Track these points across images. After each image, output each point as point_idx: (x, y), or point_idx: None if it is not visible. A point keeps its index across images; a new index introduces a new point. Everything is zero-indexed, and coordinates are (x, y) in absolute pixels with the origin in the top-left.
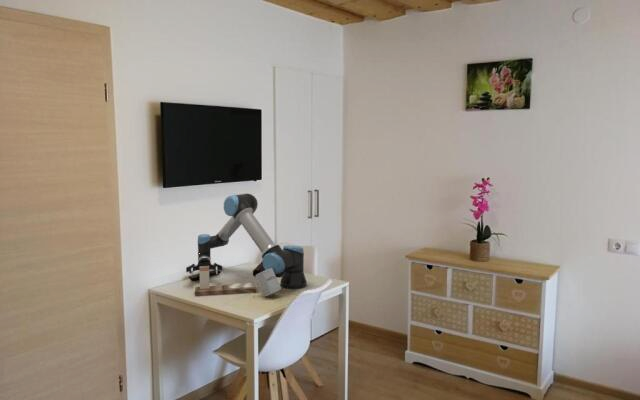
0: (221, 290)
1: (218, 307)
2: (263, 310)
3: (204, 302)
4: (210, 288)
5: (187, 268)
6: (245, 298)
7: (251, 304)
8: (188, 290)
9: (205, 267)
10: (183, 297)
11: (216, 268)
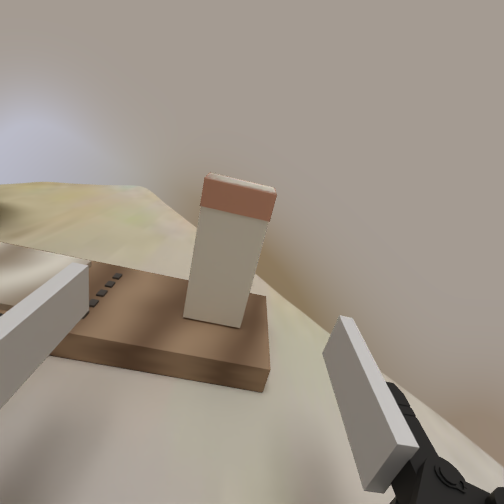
0: (136, 270)
1: (193, 228)
2: (96, 190)
3: None
4: (180, 307)
5: (492, 492)
6: (69, 235)
7: (94, 209)
8: (312, 425)
9: (234, 179)
10: (309, 321)
11: (56, 285)
